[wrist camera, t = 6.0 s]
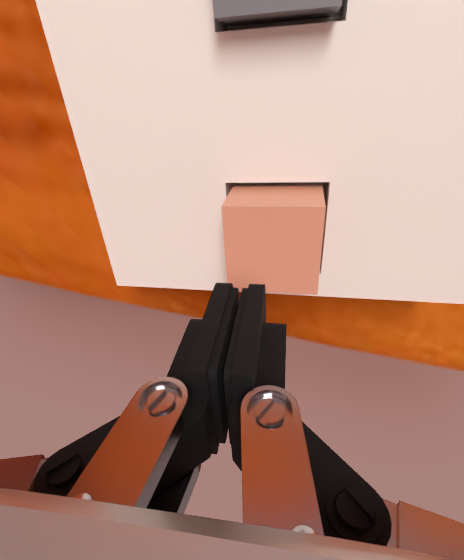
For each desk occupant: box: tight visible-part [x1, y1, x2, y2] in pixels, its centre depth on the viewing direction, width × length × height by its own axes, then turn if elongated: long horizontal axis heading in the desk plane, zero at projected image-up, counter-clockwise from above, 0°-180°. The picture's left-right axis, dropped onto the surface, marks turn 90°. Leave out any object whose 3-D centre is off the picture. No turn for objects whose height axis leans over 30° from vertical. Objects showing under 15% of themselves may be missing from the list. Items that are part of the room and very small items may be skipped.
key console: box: [35, 0, 464, 304], centre depth 16 cm, size 20×19×4 cm
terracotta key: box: [221, 185, 326, 295], centre depth 17 cm, size 4×4×3 cm
